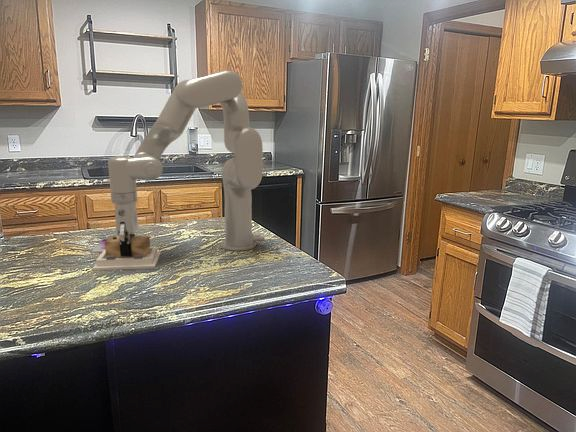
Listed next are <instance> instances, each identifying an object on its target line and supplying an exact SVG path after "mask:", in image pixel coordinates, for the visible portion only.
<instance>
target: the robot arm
mask: <svg viewBox="0 0 576 432" xmlns="http://www.w3.org/2000/svg"><path fill="white" fill-rule="evenodd" d="M243 84H244V83H243V81H242V78H241V76H240V75H239V74H238V73H237V72H236V71H233V70H227V69H226V70H221V71H215V72H212V73H210V74H209V75H206V76H202V77H197V78H192V79H184V80H181V81H179V82H178V83H177V84H176V85H175V87H174V89H173V90H172V92H171V93H170V96H169V97H168V99H167V101H166V103H165V105H164V107H163V108H162V110H161V112H160V113H159V115H158V118H157V119H156V120H155V122H154V123H153V125H152V127H151V128H150V130H149V131H148V132H147V134H146V135H145V136H144V137H143V140H142V141H141V143H140V145H139V147H138V148H137V150H136V152H135V154H134V156H133V157H132V156H127V155H123V156H122V155H117V156H112V157H109V159H108V161H107V165H108V166H107V167H108V176H109V188H110V199H111V201H110V202H111V204H114V212H115V213H114V215H115V219H114V220H115V228H116V234H117V236H119V237H120V254H121V256H131V255H132V251H131V243H130V236H136V235H135V234H136V232H137V230H138V228H139V219H138V212H137V211H138V210H137V206H136V205H137V204H136V203H137V202H138V193H137V192H138V191H137V189H138V187H137V180H139V181H155V180H157V179H159V177H161V176H162V174H163V170H164V166H163V163H162V162H161V161H160V159H161V157H162V155H163V153H164V152H165V151H166V149H167V148H168V146H169V145H171V144H172V143H173V142H175V141H176V140H177V139H179V137H181V136H182V134H183V133H184V131H185V129H186V127H187V126H188V123H189V122H190V121H191V118H192V116H193V114H194V113H195V111H196V109H200V108H205V107H209V106H214V105H217V104H220V106H221V109H222V114H223V115H222V116H223V136H224V137H223V141H224V142H223V143H224V146H225V148H226V149H227V151H228V152H230V153H232V154H234V157H232V158H229V159H228V160H226V161H225V162H224V164H223V166H222V169H221V177H222V184H223V185H222V186H223V192H224V194H223V196H224V235H225V236H224V239H223V240H222V241H221V242H220V247H221V248H222V249H224V250H227V251H233V252H234V251H236V252H240V251H248V250H251V249H254V248H255V247H256V246H257V242H265V235H261V234H254V233H253V231H252V229H253V228H252V227H253V225H252V220H253V219H252V216H253V215H252V212H253V211H252V203H253V201H252V199H253V198H252V195H253V194H252V190H254V189H256V188H257V187H258V186H259V184H261V181H262V178H263V170H264V169H263V165H264V164H263V163H264V162H263V159H264V158H263V156H264V155H263V152H264V151H263V149H264V148H263V141H262V137H261V135H260V134H259V131H257V130H256V129H255V128H253V127H250V113H249V106H248V101H247V99H246V97H245V95H244V93H243V92H242V90H243ZM125 236H127V238H126V237H125Z"/></svg>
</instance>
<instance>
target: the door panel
mask: <svg viewBox="0 0 576 432" xmlns="http://www.w3.org/2000/svg"><path fill="white" fill-rule="evenodd" d="M125 237H126V238H127V236H125ZM150 239H151V238H150V236H148V235H147V236H145V235H144V236H143V235H141V236H140V235H139V236H137V235H135V236H130V243H131V251H132V255H131V256H121V254H120V237H119V235H111V236H110V237H109V238H107V240H106V241H105V251H106V256H109V255H115V257H134V255H140V254H143V257H146V255H147V254H148V253H149V252H150V247H151V240H150Z"/></svg>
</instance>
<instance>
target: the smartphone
mask: <svg viewBox="0 0 576 432" xmlns="http://www.w3.org/2000/svg"><path fill="white" fill-rule="evenodd" d="M107 239H108V238H107ZM107 239H106V238H104V239H102V240H101V241H100V242H98V244H96V245H95V246H94V247H93V248H92V249H91V250H90V251H89V254H101V253H102V252H103V251H104V250H105V241H106V240H107Z"/></svg>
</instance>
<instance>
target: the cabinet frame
mask: <svg viewBox="0 0 576 432" xmlns="http://www.w3.org/2000/svg"><path fill="white" fill-rule="evenodd" d="M161 254H162V253H161V251H158V247H157V246H150V252H149V253H148V254H147V255H146V257H143V254H140V255H134V257H115V255H109V256H106V251H105V250H104V251H103V252H102V253H100V255H99V256H98V257H97V258H96V259H95V265H93V267H92V272H94V271H95V272H96V271H98V272H99V271H120V270H121V271H122V270H147V269H149V270H150V269H151V270H152V269H156V266H157V264H158V262H159V259H160V256H161Z"/></svg>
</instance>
